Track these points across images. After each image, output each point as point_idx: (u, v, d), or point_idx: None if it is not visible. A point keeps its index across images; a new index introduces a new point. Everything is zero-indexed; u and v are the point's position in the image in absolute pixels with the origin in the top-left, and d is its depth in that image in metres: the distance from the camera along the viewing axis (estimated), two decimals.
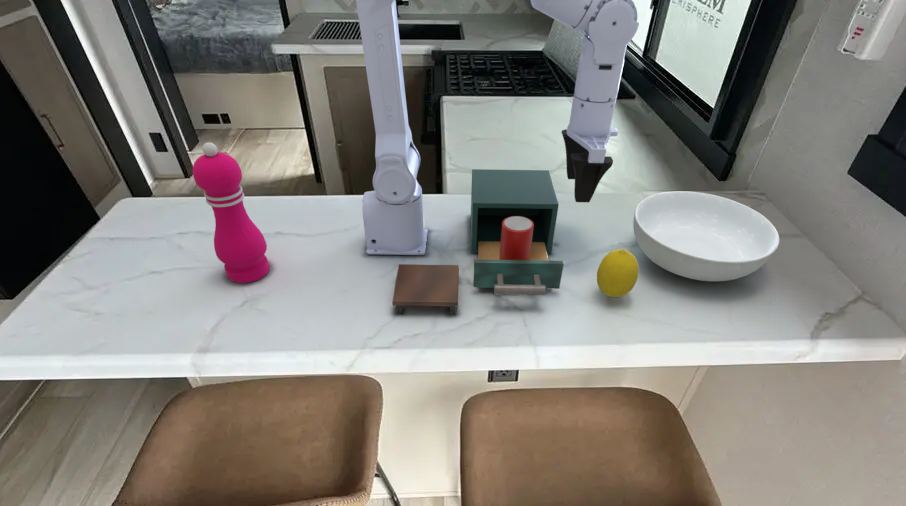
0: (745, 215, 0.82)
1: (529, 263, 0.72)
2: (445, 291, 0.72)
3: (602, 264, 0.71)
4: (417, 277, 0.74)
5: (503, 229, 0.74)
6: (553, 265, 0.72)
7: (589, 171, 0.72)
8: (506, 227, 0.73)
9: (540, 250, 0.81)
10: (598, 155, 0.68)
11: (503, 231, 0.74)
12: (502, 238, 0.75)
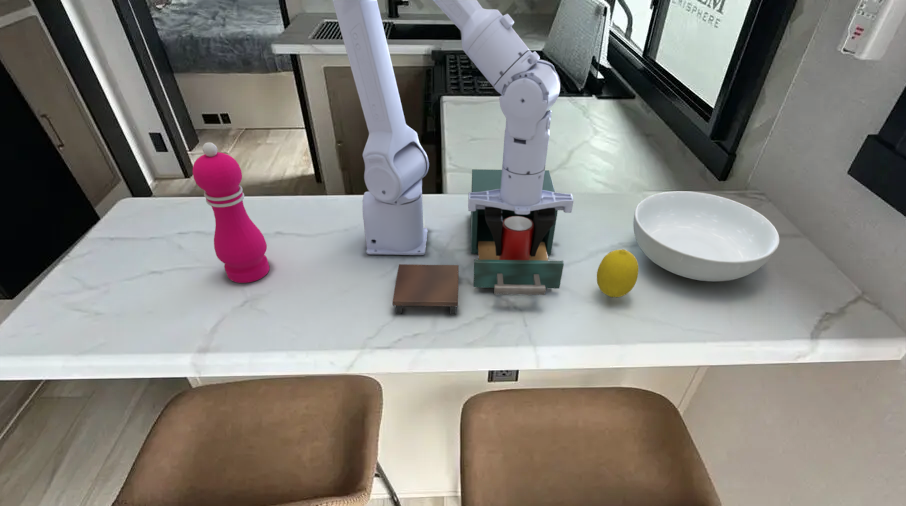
0: (745, 215, 0.82)
1: (529, 263, 0.72)
2: (445, 291, 0.72)
3: (602, 264, 0.71)
4: (417, 277, 0.74)
5: (503, 229, 0.74)
6: (553, 265, 0.72)
7: None
8: (506, 227, 0.73)
9: (540, 250, 0.81)
10: None
11: (503, 231, 0.74)
12: (502, 238, 0.75)
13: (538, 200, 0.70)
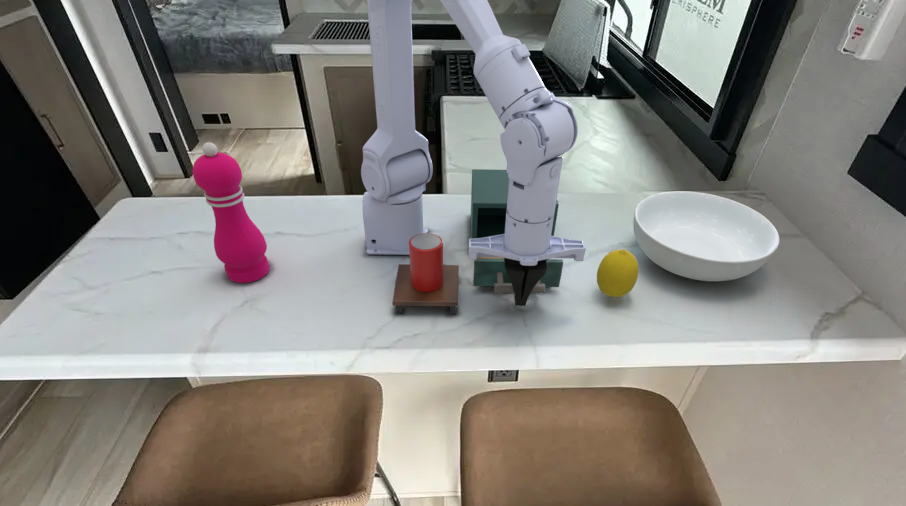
0: (745, 215, 0.82)
1: None
2: (445, 291, 0.72)
3: (602, 264, 0.71)
4: None
5: (409, 248, 0.68)
6: (553, 264, 0.72)
7: None
8: (411, 246, 0.68)
9: None
10: None
11: (410, 250, 0.68)
12: (410, 257, 0.69)
13: (546, 249, 0.63)
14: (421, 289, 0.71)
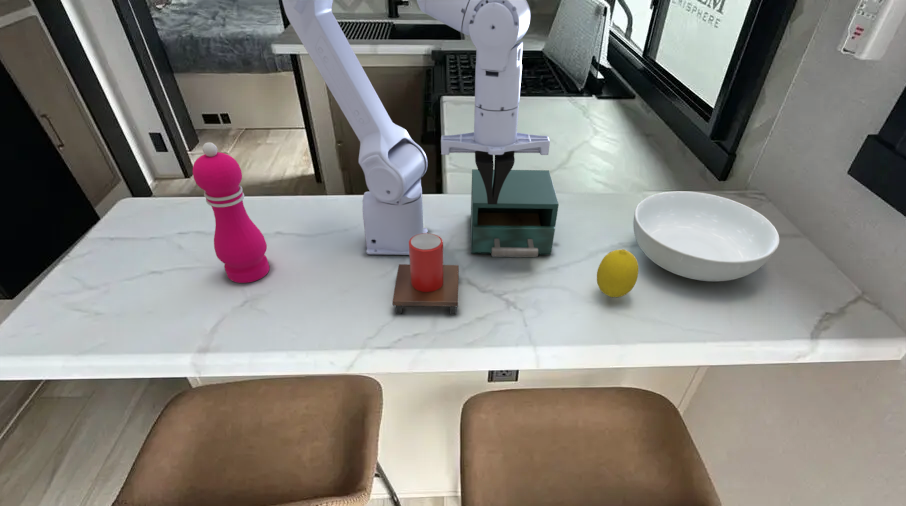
0: (745, 215, 0.82)
1: (523, 228, 0.79)
2: (445, 291, 0.72)
3: (602, 264, 0.71)
4: None
5: (409, 248, 0.68)
6: (545, 230, 0.79)
7: None
8: (411, 246, 0.68)
9: (534, 220, 0.88)
10: None
11: (410, 250, 0.68)
12: (410, 257, 0.69)
13: (513, 141, 0.67)
14: (421, 289, 0.71)
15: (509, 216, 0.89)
